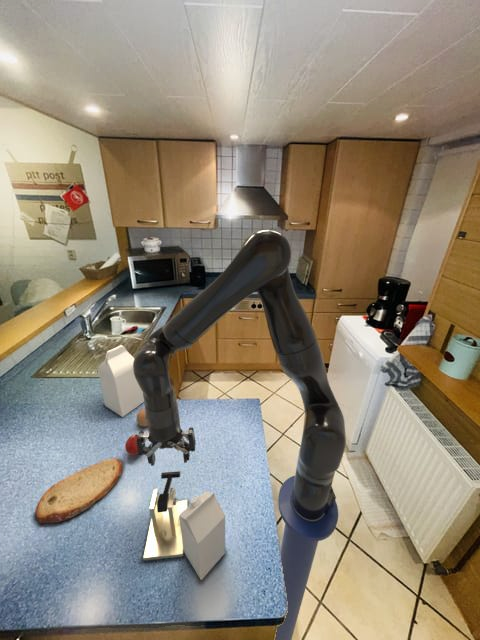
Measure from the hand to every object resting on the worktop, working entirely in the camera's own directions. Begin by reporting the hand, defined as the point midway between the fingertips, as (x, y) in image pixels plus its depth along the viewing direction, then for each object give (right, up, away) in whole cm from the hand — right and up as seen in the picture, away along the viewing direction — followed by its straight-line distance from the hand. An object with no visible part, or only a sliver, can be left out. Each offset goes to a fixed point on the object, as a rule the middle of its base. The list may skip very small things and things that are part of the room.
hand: (169, 461), depth 67 cm
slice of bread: (-27, -11, +6) cm, 29 cm away
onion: (-16, -7, +17) cm, 24 cm away
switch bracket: (0, -16, -3) cm, 16 cm away
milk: (-29, +3, +38) cm, 48 cm away
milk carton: (+10, -18, -7) cm, 22 cm away
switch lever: (0, -7, -3) cm, 7 cm away
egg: (-17, -2, +27) cm, 32 cm away
